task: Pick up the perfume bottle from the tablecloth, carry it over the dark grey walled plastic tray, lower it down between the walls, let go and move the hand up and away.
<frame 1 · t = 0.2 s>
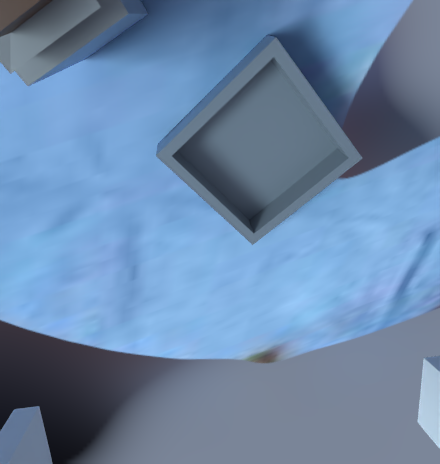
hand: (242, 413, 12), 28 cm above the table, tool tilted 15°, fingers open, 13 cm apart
tray: (255, 145, 36), on the table
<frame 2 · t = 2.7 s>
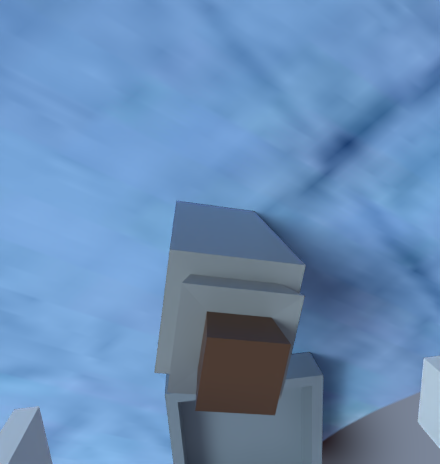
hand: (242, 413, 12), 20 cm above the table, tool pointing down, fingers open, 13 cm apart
tray: (242, 419, 36), on the table
perfume bottle: (210, 243, 31), on the table
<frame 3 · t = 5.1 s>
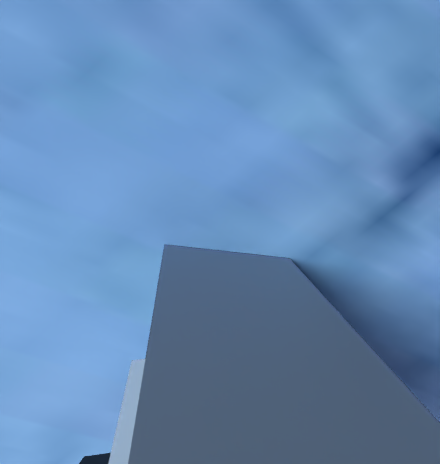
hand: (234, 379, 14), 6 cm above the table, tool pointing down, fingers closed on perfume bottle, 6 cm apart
perfume bottle: (218, 307, 20), on the table, touching gripper
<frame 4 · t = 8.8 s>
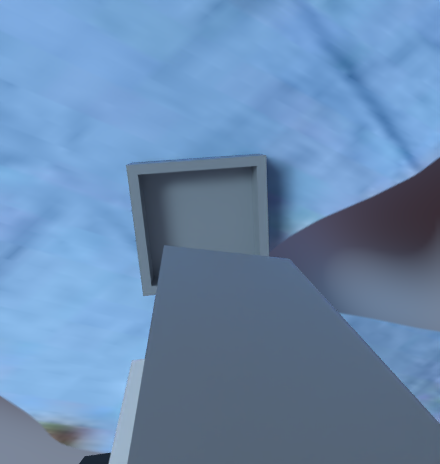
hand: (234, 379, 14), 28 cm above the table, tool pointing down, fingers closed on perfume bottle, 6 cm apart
tray: (201, 220, 40), on the table
perfume bottle: (218, 308, 20), point 22 cm above the table, touching gripper
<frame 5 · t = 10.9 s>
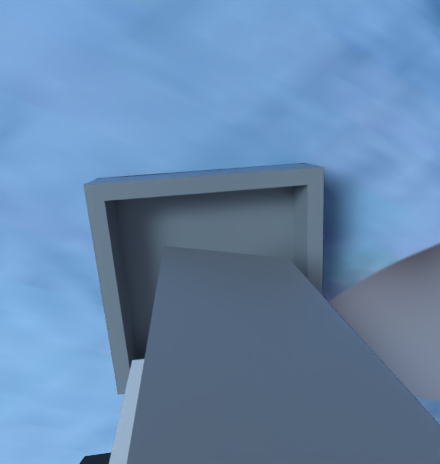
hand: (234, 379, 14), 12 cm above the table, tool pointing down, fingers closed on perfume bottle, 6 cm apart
tray: (210, 267, 26), on the table
perfume bottle: (218, 308, 20), point 6 cm above the table, touching gripper
when the fingers open (8 cm above the table, at t = 12.7 s): perfume bottle stays where it is, resting on tray.
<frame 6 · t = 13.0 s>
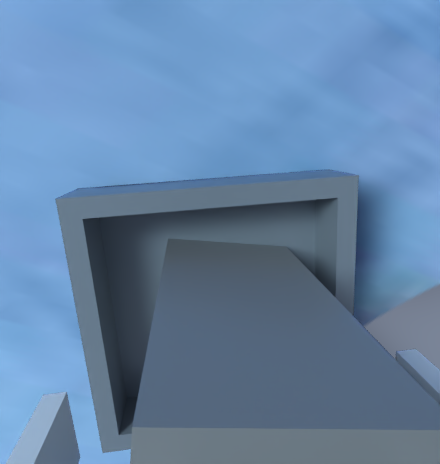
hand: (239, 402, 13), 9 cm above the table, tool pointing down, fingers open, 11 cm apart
tray: (215, 294, 21), on the table
perfume bottle: (222, 296, 21), resting on tray
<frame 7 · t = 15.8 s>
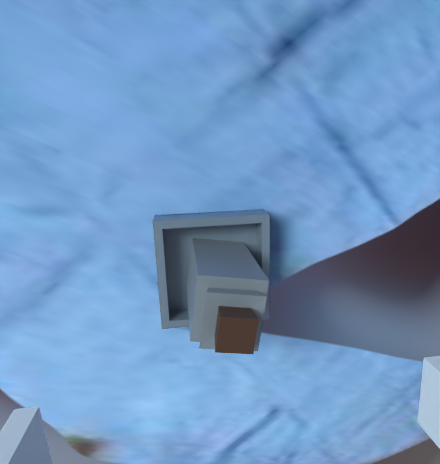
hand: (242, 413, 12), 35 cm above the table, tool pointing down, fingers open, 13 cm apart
tray: (212, 263, 47), on the table
perfume bottle: (214, 264, 47), resting on tray
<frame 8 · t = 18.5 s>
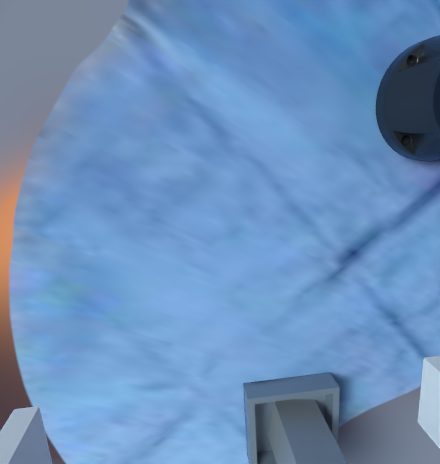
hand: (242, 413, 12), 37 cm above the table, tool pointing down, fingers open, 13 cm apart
tray: (287, 414, 57), on the table
perfume bottle: (290, 416, 57), resting on tray
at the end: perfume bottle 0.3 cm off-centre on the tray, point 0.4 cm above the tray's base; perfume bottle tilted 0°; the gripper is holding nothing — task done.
